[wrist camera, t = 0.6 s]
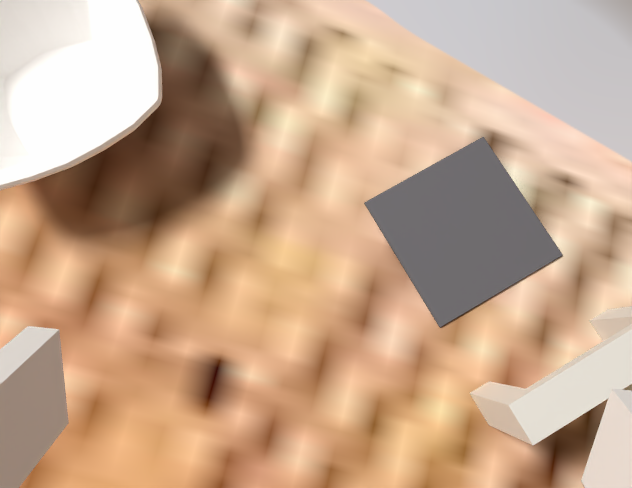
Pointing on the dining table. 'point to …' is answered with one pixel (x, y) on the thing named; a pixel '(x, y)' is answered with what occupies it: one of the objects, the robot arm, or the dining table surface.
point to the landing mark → (462, 231)
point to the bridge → (564, 385)
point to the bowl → (71, 82)
